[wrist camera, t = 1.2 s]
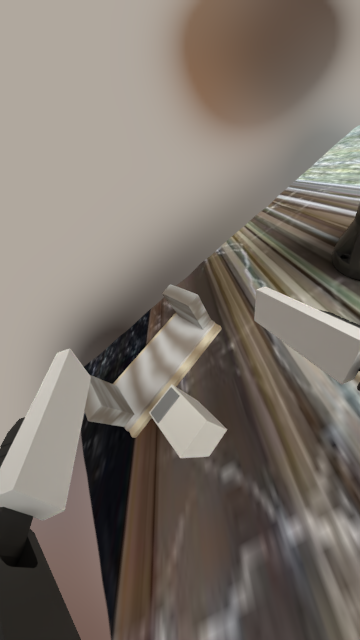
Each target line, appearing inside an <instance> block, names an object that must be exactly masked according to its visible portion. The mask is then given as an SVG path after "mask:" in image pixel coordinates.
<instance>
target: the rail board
mask: <svg viewBox="0 0 360 640" xmlns="http://www.w3.org/2000/svg"><path fill="white" fill-rule="evenodd" d="M162 294H163V295H164V297H165V298H166V299H167V301H168V302H169V303H170V305H171V306H172V308H173V309H174V310H175V312H176V313H175V314H174V315H173V316H172V317H171V318H170V320H169V321H168V322H167V323H166V324H165V325H164V326H163V328H162V329H161V330H160V331H159V332H158V333H157V334H156V335H155V337H154V338H153V339H152V340H151V341H150V342H149V343H148V345H147V346H146V347H145V348H144V349H143V350H142V351H141V352H140V354H139V355H138V356H137V357H136V358H135V359H134V360H133V362H132V363H131V364H130V365H129V366H128V367H127V368H126V370H125V371H124V372H123V373H122V374H121V375H120V376H119V377H118V379H117V380H116V381H115V382H114V383H113V384H111V383H108V382H106V381H103V380H101V379H98V378H96V377H93V376H91V375H90V377H91V379H90V385H89V390H88V395H87V400H86V405H85V410H84V411H85V414H86V417H87V420H88V421H91V422H98V423H104V424H110V425H116V426H122V427H125V429H126V431H129V432H130V434H131V436H132V437H133V438H136V437H137V436H138V435H139V433H140V432H141V431H142V430H143V428H144V427H145V426H146V425H147V423H148V422H149V421H150V419H151V418H152V417H151V415H150V414H149V412H150V411H151V409H152V408H153V407H154V406H155V404H156V403H157V402H158V401H159V399H160V398H161V397H162V396H163V394H164V393H165V392H166V391H167V389H168V388H169V387H170V386H171V384H172V385H174V386H175V387H176V386H177V385H178V384H179V383H180V381H181V380H182V379H183V377H184V376H185V375H186V374H187V372H188V371H189V370H190V369H191V367H192V366H193V365H194V363H195V362H196V361H197V360H198V358H199V357H200V356H201V355H202V353H203V352H204V351H205V350H206V348H207V347H208V346H209V344H210V343H211V342H212V341H213V339H214V338H215V337H216V336H217V334H218V333H219V332H220V330H221V329H222V328H221V326H219V325H217V324H215V322H214V321H212V320H211V319H210V317H209V315H208V313H207V311H206V309H205V307H204V305H203V304H202V302H201V300H200V298H199V296H198V295H197V294H195V293H192V292H190V291H187V290H184V289H182V288H179V287H177V286H174V285H169V286H168V287H167V289H166V290H165V291H164V292H163V293H162Z"/></svg>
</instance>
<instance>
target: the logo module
mask: <svg viewBox="0 0 360 640" xmlns="http://www.w3.org/2000/svg"><path fill="white" fill-rule="evenodd" d="M149 414H150V415H151V417H152V418H153V420H154V421H155V423H156V424H157V426H158V427H159V428H160V430H161V431H162V433H163V434H164V436H165V437H166V438H167V440H168V441H169V443H170V444H171V446H172V447H173V448H174V450H175V451H176V453H177V454H178V456H179V457H180V458H193V457H209V456H210V455H211V453H212V452H213V450H214V449H215V447H216V446H217V444H218V443H219V441H220V440H221V438H222V437H223V435H224V434H225V432H226V431H227V429H226V428H225V427H224V426H223V425H222V424H221V423H220V422H219V421H218V420H217V419H216V418H215V417H214V416H213V415H212V414H211V413H210V412H209V411H208V410H207V409H206V408H205V407H204V406H203V405H202V404H201V403H200V402H199V401H198V400H196V399H194V398H193V397H191V396H190V395H188V394H186V393H185V392H183V391H182V390H180V389H178V388H177V387H175V386H174V385H172V384H171V386H170V387H169V388H168V389H167V391H166V392H165V393H164V394H163V396H162V397H161V398H160V399H159V401H158V402H157V403H156V404H155V406H154V407H153V408H152V409H151V411H150V412H149Z"/></svg>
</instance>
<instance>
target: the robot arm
mask: <svg viewBox="0 0 360 640" xmlns="http://www.w3.org/2000/svg"><path fill="white" fill-rule="evenodd" d="M332 262H333V265H334V266H335V268H336V269H337V270H338V271H340V272H341V273H343V274H344V275H346V276H348V277H351V278H354V279H357V280H360V204H359V207H358V210H357V213H356V216H355V219H354V221H353V222H352V223H351V225H350V226H349V227H348V229H347V230H346V231H345V233H344V234H343V235H342V237H341V238H340V239H339V241H338V242H337V244H336V246H335V248H334V251H333V255H332ZM254 321H256V322H257V323H259V324H260V325H261V326H263V327H264V328H265V329H267V330H268V331H269V332H271V333H272V334H274V335H275V336H276V337H278V338H279V339H280V340H282V341H283V342H284V343H286V344H287V345H289V346H290V347H291V348H293V349H294V350H295V351H297V352H298V353H299V354H301V355H302V356H304V357H305V358H306V359H308V360H309V361H310V362H312V363H313V364H314V365H316V366H317V367H319V368H320V369H321V370H323V371H324V372H325V373H327V374H328V375H329V376H331V377H332V378H334V379H335V380H336V381H338V382H339V383H340V384H344V383H346V382H348V381H351V380H353V379H354V378H355V376H356V375H357V373H358V371H360V325H358V324H356V323H353V322H349V320H346V319H344V318H341V317H339V316H337V315H335V314H333V313H330V312H326V311H322V310H317V309H315V308H313V307H311V306H308V305H306V304H304V303H302V302H299V301H297V300H295V299H293V298H290V297H288V296H286V295H283V294H281V293H279V292H277V291H274V290H272V289H270V288H268V287H262V288H259V289H256V301H255V317H254ZM90 379H91V377H90V375H89V374H88V373H87V371H86V370H85V368H84V367H83V366H82V364H81V363H80V361H79V360H78V359H77V357H76V356H75V354H74V353H73V352H72V350H71V349H67V350H64V351H61V352H58V353H57V354H56V356H55V358H54V360H53V362H52V364H51V366H50V368H49V370H48V372H47V375H46V376H45V378H44V380H43V382H42V384H41V386H40V388H39V390H38V392H37V394H36V396H35V399H34V400H33V403H32V405H31V407H30V409H29V411H28V413H27V415H26V417H24V418H21V419H19V420H18V421H17V422H16V424H15V425H14V426H13V427H12V428H11V430H10V431H9V432H8V433H7V436H6V437H5V439H4V441H3V443H2V445H1V449H0V640H81V639H80V637H79V634H78V632H77V630H76V627H75V625H74V623H73V620H72V618H71V616H70V614H69V611H68V609H67V607H66V604H65V603H64V600H63V598H62V595H61V593H60V591H59V588H58V586H57V584H56V581H55V579H54V577H53V575H52V573H51V570H50V568H49V565H48V563H47V561H46V559H45V557H44V554H43V552H42V549H41V547H40V545H39V543H38V540H37V538H36V536H35V533H34V532H32V530H31V529H30V526H31V522H32V519H33V517H34V518H37V519H40V520H45V519H47V518H49V517H52V516H54V515H56V514H58V513H61V512H63V511H65V507H66V502H67V497H68V492H69V487H70V481H71V476H72V471H73V466H74V461H75V456H76V451H77V446H78V441H79V436H80V430H81V425H82V420H83V415H84V410H85V405H86V400H87V395H88V390H89V385H90ZM357 389H358V390H359V391H360V383H359V384H358V386H357Z"/></svg>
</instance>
